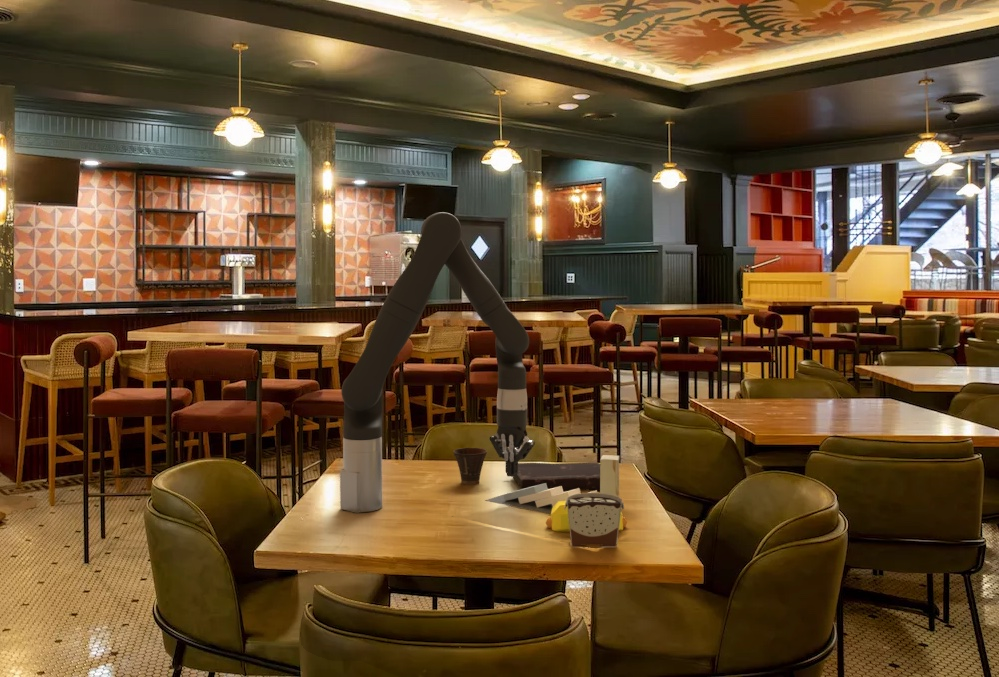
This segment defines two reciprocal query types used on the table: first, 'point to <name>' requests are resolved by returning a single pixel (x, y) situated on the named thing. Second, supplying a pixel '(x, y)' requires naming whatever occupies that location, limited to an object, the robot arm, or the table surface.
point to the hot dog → (561, 520)
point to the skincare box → (609, 475)
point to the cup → (470, 464)
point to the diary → (559, 475)
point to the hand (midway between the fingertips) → (511, 475)
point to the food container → (594, 519)
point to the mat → (527, 505)
